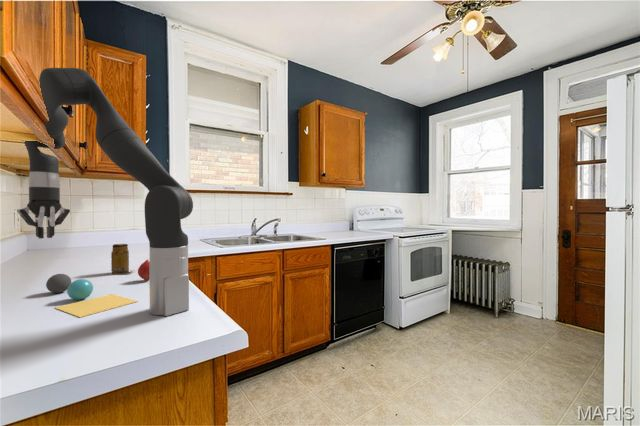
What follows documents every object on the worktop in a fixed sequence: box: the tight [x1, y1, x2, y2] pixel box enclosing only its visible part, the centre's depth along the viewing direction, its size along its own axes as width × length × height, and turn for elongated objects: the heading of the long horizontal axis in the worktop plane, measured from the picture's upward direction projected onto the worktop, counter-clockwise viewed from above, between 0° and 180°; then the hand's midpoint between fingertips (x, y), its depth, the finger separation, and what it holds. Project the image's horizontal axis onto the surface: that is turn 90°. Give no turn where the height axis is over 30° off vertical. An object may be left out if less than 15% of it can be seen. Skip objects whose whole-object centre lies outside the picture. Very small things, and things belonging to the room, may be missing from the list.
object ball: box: [66, 278, 94, 301], centre depth 86 cm, size 6×6×6 cm
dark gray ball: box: [45, 273, 72, 294], centre depth 93 cm, size 6×6×6 cm
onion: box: [137, 259, 150, 282], centre depth 109 cm, size 6×6×8 cm
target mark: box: [54, 294, 139, 318], centre depth 82 cm, size 14×14×1 cm
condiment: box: [106, 243, 138, 276], centre depth 121 cm, size 7×8×12 cm
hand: (45, 237), depth 97 cm, fingers closed
